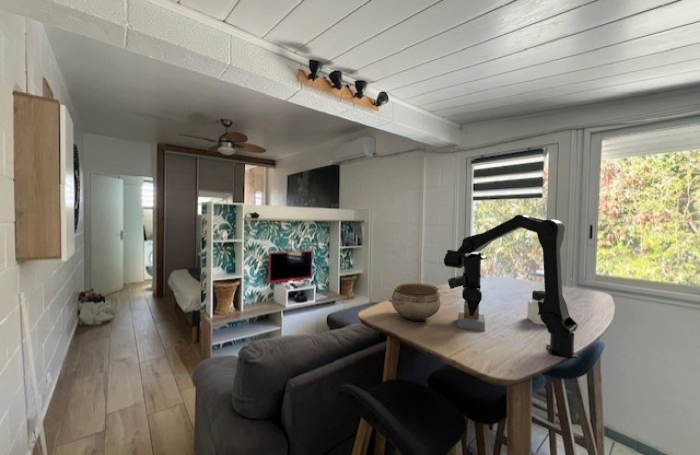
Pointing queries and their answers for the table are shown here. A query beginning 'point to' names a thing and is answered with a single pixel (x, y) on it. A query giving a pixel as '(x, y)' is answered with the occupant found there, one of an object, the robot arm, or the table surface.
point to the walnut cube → (466, 312)
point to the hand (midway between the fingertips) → (471, 311)
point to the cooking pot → (415, 300)
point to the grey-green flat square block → (471, 322)
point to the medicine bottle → (535, 307)
